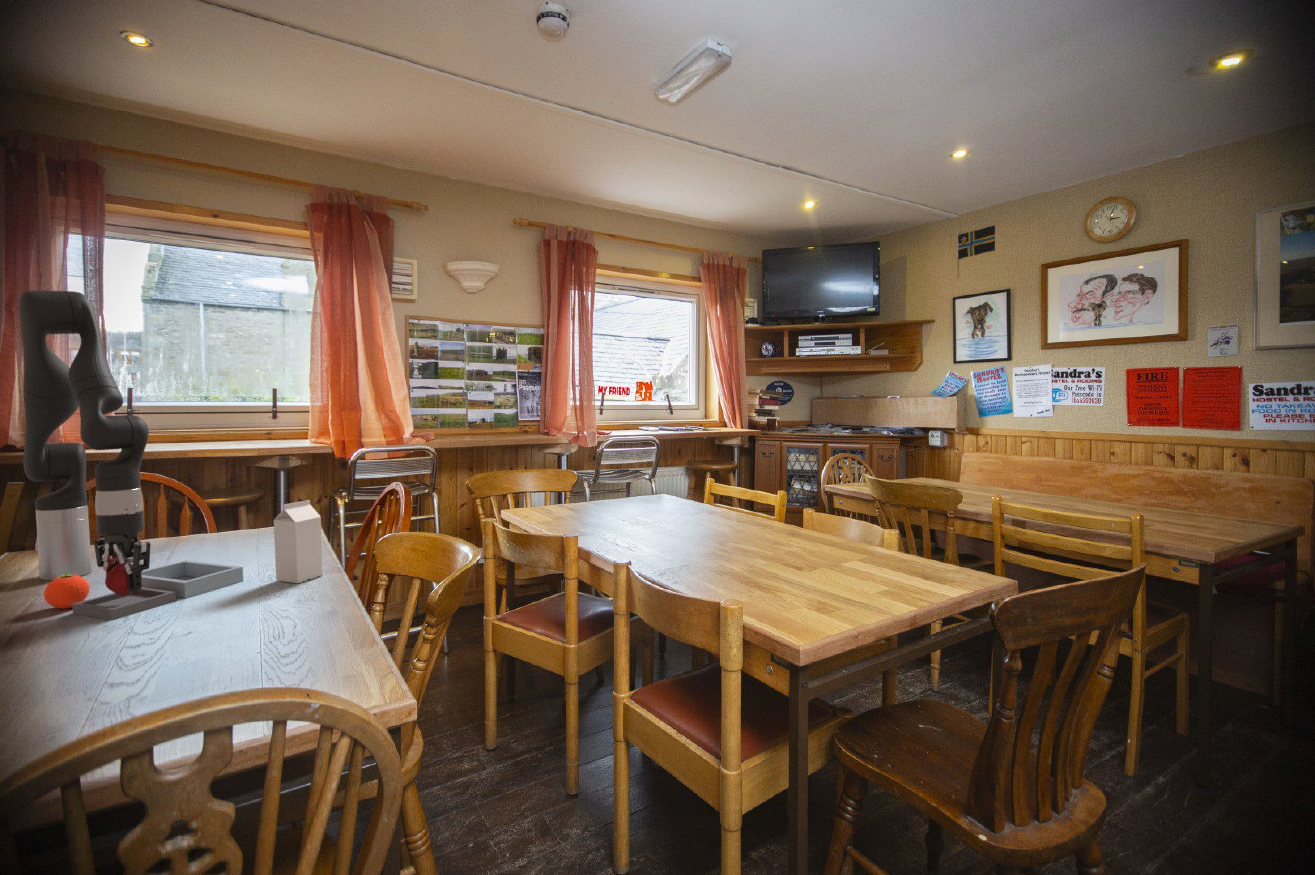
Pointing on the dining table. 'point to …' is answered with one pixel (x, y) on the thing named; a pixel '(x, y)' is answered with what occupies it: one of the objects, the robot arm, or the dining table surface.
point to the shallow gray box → (207, 572)
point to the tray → (123, 603)
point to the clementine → (66, 591)
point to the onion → (118, 580)
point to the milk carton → (298, 543)
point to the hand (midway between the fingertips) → (124, 588)
